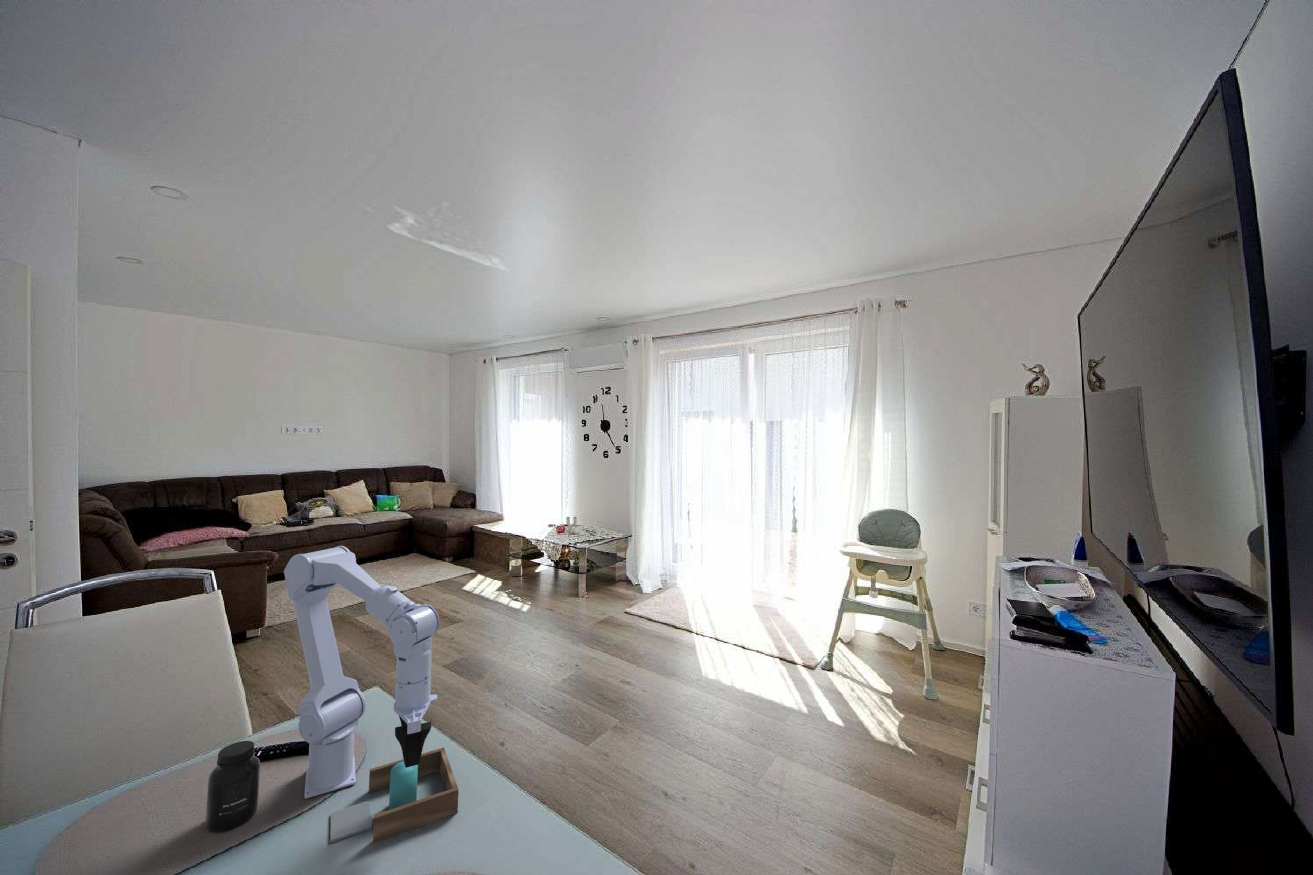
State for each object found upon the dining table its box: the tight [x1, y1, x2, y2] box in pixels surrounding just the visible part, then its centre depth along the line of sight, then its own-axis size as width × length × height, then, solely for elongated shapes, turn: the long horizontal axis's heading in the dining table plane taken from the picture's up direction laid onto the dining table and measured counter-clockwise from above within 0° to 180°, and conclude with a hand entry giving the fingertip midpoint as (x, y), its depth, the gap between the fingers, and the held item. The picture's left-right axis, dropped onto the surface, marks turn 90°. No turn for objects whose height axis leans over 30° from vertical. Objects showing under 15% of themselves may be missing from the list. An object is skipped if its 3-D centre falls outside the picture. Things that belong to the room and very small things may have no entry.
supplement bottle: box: [205, 740, 261, 834], centre depth 84 cm, size 7×7×12 cm
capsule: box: [388, 761, 418, 810], centre depth 88 cm, size 4×4×6 cm
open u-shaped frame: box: [368, 747, 459, 844], centre depth 89 cm, size 14×13×4 cm
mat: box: [329, 800, 373, 844], centre depth 84 cm, size 7×6×1 cm
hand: (411, 752), depth 88 cm, fingers open, 7 cm apart
